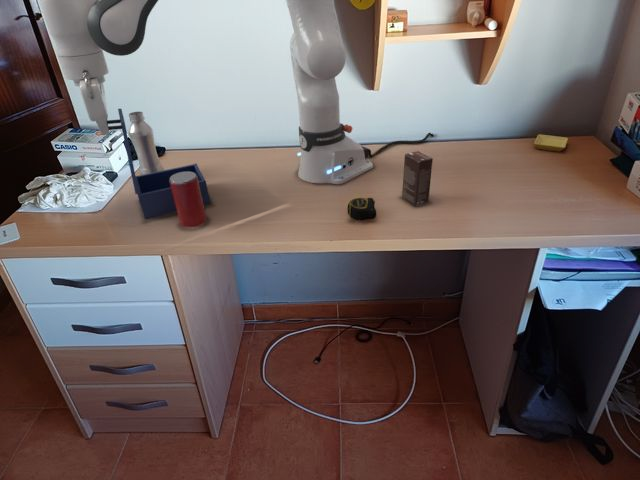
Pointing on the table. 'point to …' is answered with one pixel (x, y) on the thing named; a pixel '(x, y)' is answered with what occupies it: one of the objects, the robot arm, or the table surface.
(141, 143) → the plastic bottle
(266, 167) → the table surface
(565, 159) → the table surface
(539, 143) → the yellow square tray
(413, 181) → the box
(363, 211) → the tape measure
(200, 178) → the box
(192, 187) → the can
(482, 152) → the table surface
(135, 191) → the lid
